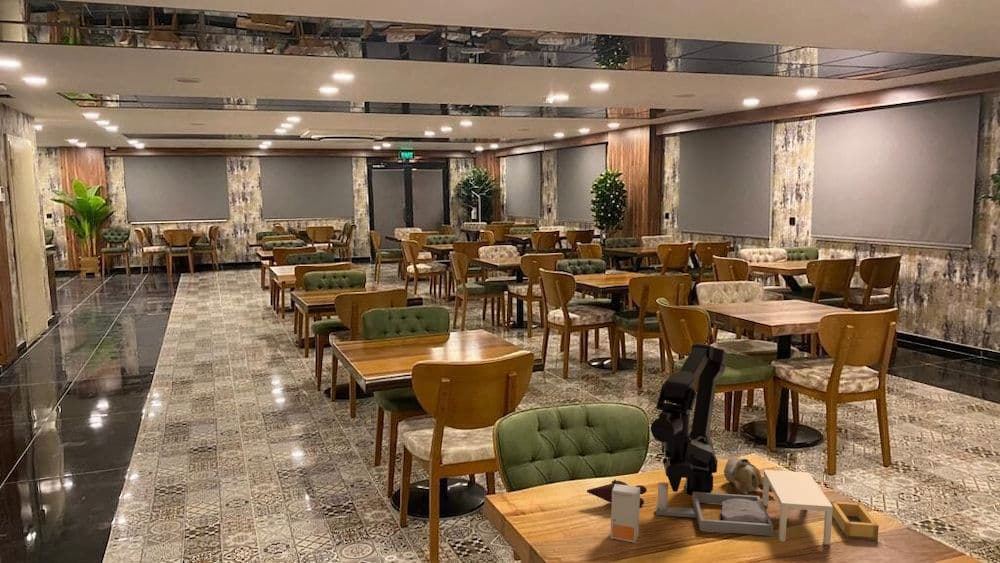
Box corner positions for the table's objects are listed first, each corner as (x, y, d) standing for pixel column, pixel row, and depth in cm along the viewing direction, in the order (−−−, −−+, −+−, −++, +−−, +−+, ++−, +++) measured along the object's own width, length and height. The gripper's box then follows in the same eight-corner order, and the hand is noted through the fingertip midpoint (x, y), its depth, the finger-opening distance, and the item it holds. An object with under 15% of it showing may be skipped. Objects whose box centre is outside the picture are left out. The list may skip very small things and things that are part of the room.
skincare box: (609, 539, 165) (611, 490, 163) (613, 531, 169) (614, 483, 167) (636, 543, 163) (637, 493, 161) (639, 535, 167) (640, 486, 165)
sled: (658, 527, 170) (659, 497, 169) (654, 498, 186) (655, 471, 185) (773, 535, 166) (774, 505, 165) (758, 505, 182) (760, 477, 181)
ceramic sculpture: (748, 447, 200) (781, 470, 186) (746, 475, 202) (778, 500, 188) (714, 450, 198) (745, 474, 183) (712, 479, 199) (742, 505, 185)
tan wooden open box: (845, 538, 166) (846, 523, 165) (830, 515, 177) (831, 501, 177) (877, 540, 165) (878, 525, 164) (860, 517, 176) (860, 503, 176)
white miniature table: (779, 540, 164) (782, 503, 163) (762, 503, 184) (763, 469, 183) (830, 544, 162) (832, 506, 161) (806, 506, 182) (808, 472, 181)
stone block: (728, 537, 170) (771, 532, 168) (724, 518, 169) (767, 513, 168) (719, 517, 181) (759, 512, 180) (716, 499, 181) (756, 494, 180)
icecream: (589, 489, 177) (650, 494, 177) (587, 470, 184) (645, 475, 184) (586, 511, 180) (645, 517, 180) (584, 492, 187) (641, 497, 187)
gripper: (716, 445, 164) (713, 509, 166) (706, 420, 183) (703, 478, 184) (667, 442, 166) (665, 506, 168) (661, 418, 184) (660, 475, 186)
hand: (675, 491), depth 177 cm, fingers closed
